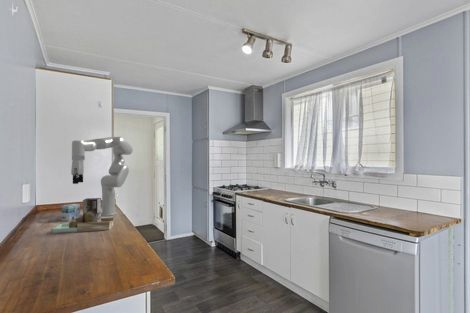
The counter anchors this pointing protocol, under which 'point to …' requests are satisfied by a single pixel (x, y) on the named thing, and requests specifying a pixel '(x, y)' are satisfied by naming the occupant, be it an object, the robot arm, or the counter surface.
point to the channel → (96, 225)
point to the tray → (63, 228)
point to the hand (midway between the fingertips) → (78, 183)
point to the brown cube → (79, 220)
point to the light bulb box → (70, 212)
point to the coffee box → (92, 210)
